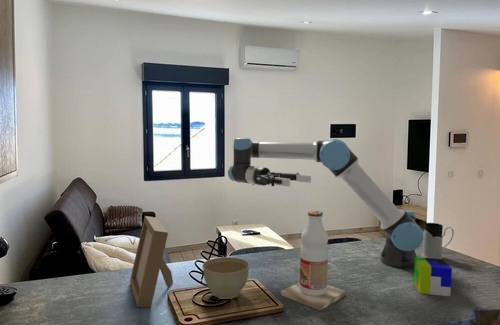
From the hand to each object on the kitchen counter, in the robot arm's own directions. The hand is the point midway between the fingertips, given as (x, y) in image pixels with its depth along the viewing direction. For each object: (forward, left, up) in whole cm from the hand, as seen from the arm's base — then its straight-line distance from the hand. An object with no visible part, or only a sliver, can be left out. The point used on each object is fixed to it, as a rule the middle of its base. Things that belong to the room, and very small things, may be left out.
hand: (300, 180), depth 147 cm
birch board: (+10, +14, -38) cm, 41 cm away
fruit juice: (+10, +14, -37) cm, 40 cm away
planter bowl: (+31, -8, -38) cm, 50 cm away
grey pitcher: (-65, +32, -38) cm, 82 cm away
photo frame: (+47, -27, -38) cm, 66 cm away
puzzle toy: (-25, +42, -38) cm, 62 cm away
